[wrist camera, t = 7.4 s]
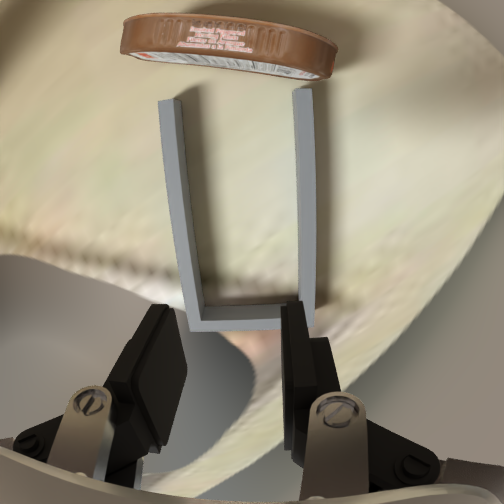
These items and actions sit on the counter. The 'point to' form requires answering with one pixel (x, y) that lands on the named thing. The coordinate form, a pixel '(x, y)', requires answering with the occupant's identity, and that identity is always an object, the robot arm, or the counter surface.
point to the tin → (229, 44)
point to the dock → (185, 236)
